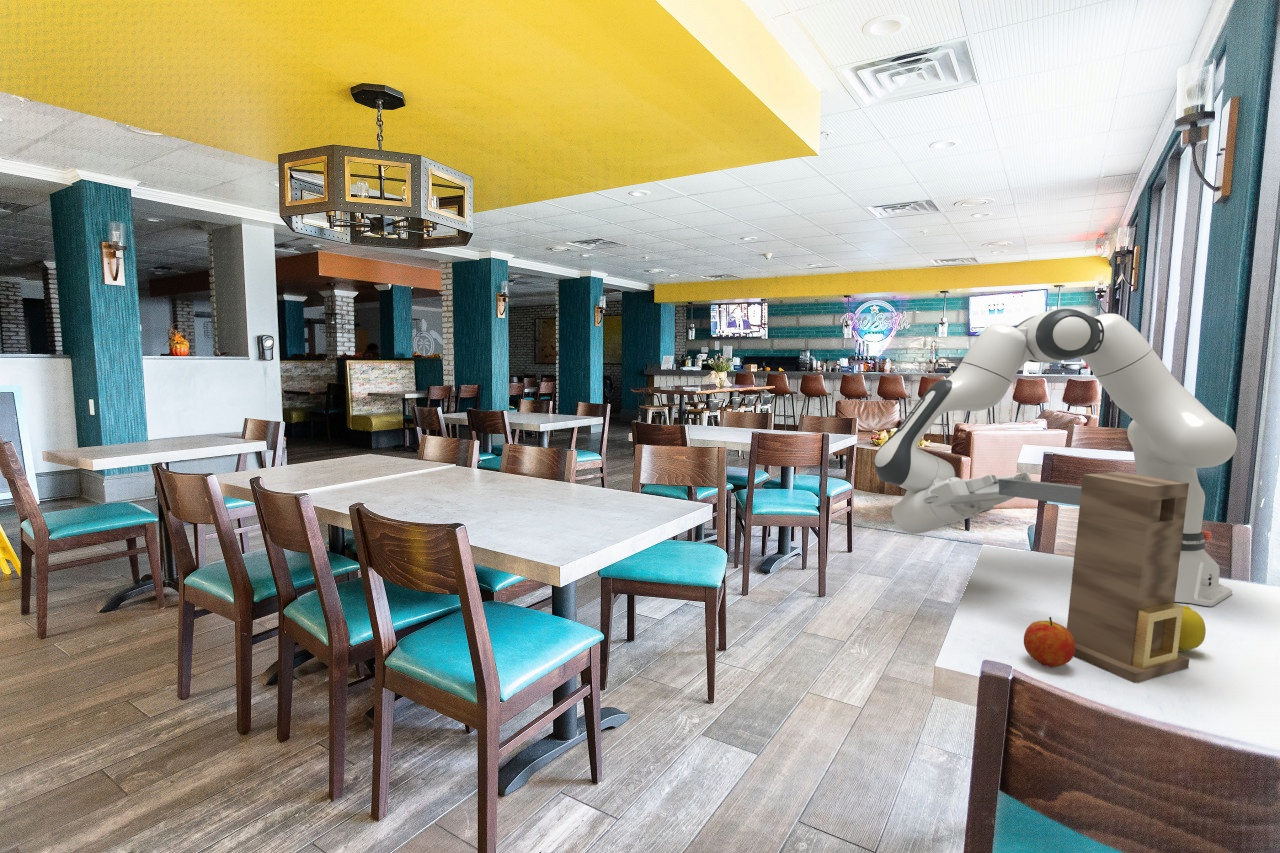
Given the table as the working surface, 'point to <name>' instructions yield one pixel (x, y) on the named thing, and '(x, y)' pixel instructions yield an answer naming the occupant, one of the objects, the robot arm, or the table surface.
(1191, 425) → the robot arm
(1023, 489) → the shaft
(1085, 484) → the block
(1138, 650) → the frame
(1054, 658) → the fruit
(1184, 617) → the lemon
